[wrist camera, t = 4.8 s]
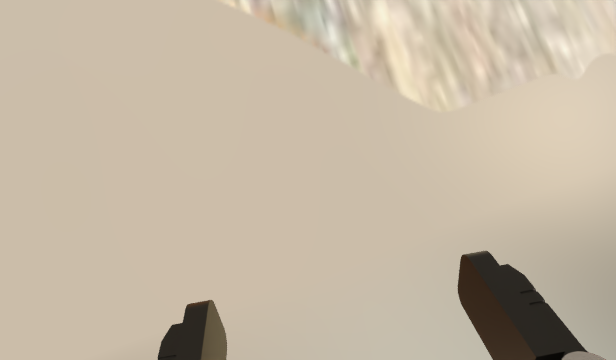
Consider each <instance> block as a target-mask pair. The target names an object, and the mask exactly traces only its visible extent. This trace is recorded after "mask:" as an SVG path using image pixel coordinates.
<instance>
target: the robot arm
mask: <svg viewBox="0 0 616 360" xmlns="http://www.w3.org/2000/svg"><path fill="white" fill-rule="evenodd" d="M458 294H459V298H460V301H461V304H462V306H463V308H464V310H465V311H466V313H467V315H468V317H469V319H470V320H471V322H472V324H473V325H474V327H475V329H476V331H477V333H478V334H479V336H480V338H481V339H482V341H483V343H484V345H485V346H486V348H487V350H488V352H489V354H490V355H491V357H492V359H493V360H606V359H604V358H602V357H600V356H598V355H595V354H592V353H589V352H587V351H586V350H585V349H584V348H583V347H582V345H581V344H580V343H579V342H578V340H577V339H576V338H575V337H574V336H573V334H572V333H571V332H570V331H569V330H568V328H567V327H566V326H565V325H564V323H563V322H562V321H561V320H560V318H559V317H558V316H557V315H556V313H555V312H554V311H553V310H552V309H551V307H550V306H549V305H548V304H547V303H545V300H544V299H543V297H542V296H541V295H540V294H539V293H538V292H536V290H535V288H534V287H533V285H532V284H531V283H530V282H529V280H528V279H527V278H526V277H525V275H523V274H522V273H520V272H519V271H517V270H516V269H514V268H513V267H511V266H510V265H508V264H506V265H501V266H500V265H499V264H498V263H497V261H496V260H495V259H494V257H493V256H492V255H491V254H490V253H489V252H488V251H481V252H476V253H470V254H465V255H462V257H461V261H460V270H459V280H458ZM226 355H227V340H226V333H225V330H224V327H223V324H222V322H221V319H220V317H219V314H218V312H217V309H216V307H215V304H214V302H213V301H212V300H208V301H203V302H198V303H192V304H188V305H187V306H186V309H185V315H184V320H183V323H180V324H175V325H172V326H171V328H170V329H169V331H168V332H167V334H166V335H165V337H164V339H163V340H162V342H161V346H160V350H159V355H158V360H226Z"/></svg>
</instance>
